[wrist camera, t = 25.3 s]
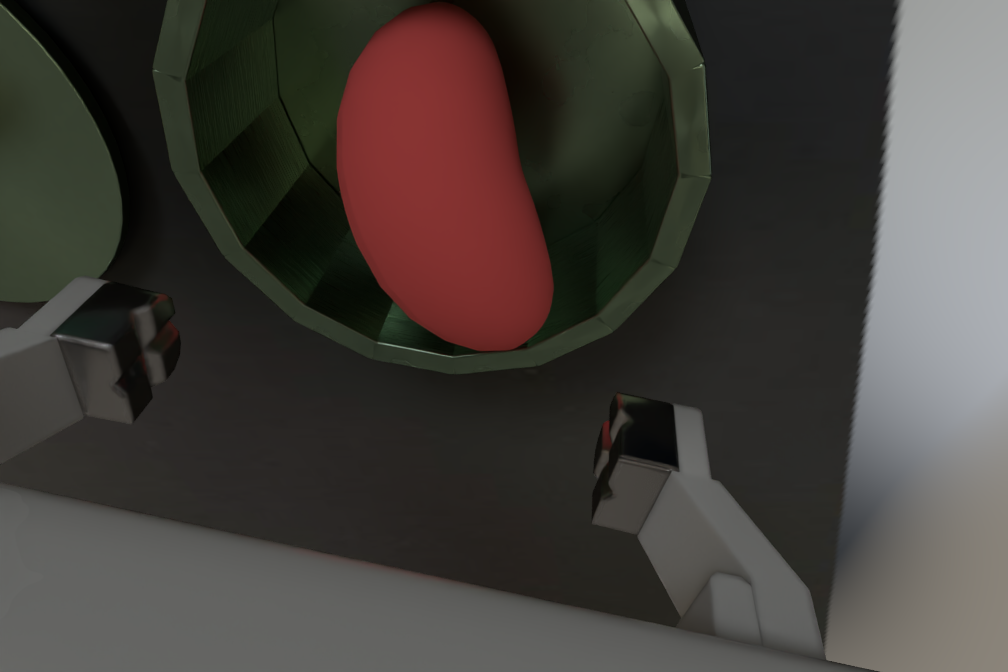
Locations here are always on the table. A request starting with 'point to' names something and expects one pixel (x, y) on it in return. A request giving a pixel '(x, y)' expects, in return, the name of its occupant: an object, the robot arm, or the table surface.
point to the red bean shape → (442, 181)
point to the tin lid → (53, 169)
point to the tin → (540, 138)
